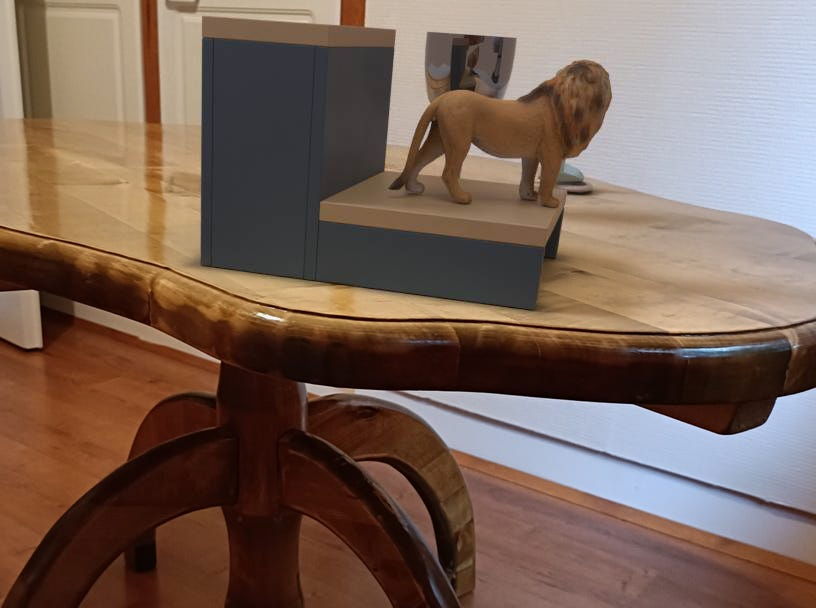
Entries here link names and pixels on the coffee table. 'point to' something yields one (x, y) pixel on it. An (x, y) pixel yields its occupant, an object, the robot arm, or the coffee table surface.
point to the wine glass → (468, 64)
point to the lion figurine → (513, 130)
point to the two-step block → (344, 175)
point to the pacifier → (571, 179)
